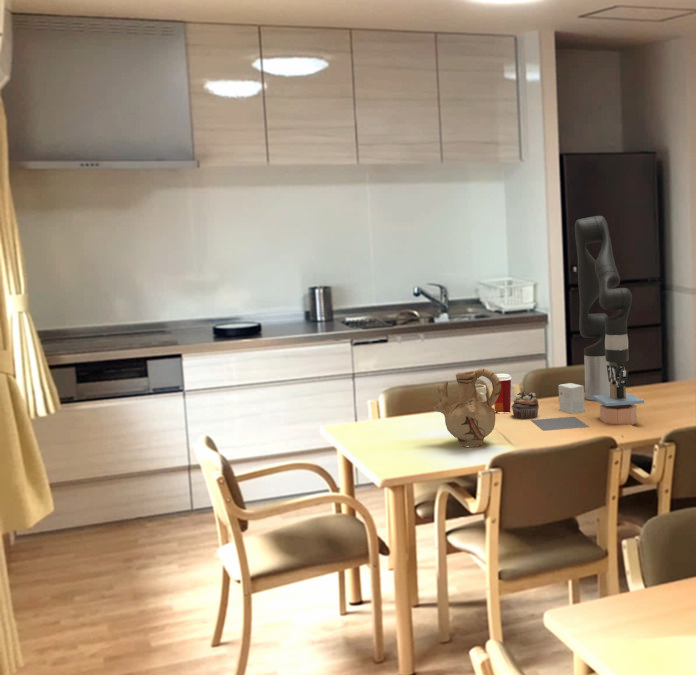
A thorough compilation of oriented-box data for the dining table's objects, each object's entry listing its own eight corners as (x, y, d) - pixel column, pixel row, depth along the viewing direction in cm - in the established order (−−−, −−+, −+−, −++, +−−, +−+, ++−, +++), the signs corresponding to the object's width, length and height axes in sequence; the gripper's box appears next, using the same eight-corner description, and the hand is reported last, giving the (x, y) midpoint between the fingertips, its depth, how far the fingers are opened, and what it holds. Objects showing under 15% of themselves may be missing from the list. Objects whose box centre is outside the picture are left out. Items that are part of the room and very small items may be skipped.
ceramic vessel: (479, 434, 290) (475, 361, 287) (513, 445, 273) (510, 368, 270) (433, 443, 283) (429, 369, 279) (466, 455, 265) (461, 376, 262)
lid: (592, 398, 298) (592, 383, 297) (629, 395, 299) (628, 380, 298) (606, 406, 285) (605, 390, 285) (644, 403, 286) (643, 387, 285)
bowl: (597, 420, 298) (596, 403, 297) (628, 418, 299) (627, 401, 298) (608, 427, 287) (608, 410, 286) (640, 425, 288) (640, 407, 287)
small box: (585, 414, 309) (584, 385, 307) (572, 416, 307) (571, 387, 305) (571, 410, 316) (570, 382, 315) (559, 412, 314) (558, 384, 313)
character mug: (493, 423, 304) (492, 387, 303) (475, 425, 302) (474, 389, 301) (479, 417, 315) (478, 382, 313) (462, 419, 313) (460, 385, 311)
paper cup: (512, 409, 324) (510, 372, 323) (514, 413, 317) (512, 376, 315) (491, 410, 325) (489, 373, 323) (492, 414, 318) (491, 377, 316)
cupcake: (541, 416, 310) (540, 389, 308) (536, 422, 301) (534, 395, 300) (515, 415, 314) (514, 388, 312) (509, 421, 305) (508, 394, 304)
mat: (530, 422, 301) (530, 420, 301) (574, 419, 302) (574, 416, 302) (543, 433, 286) (543, 430, 285) (590, 429, 286) (590, 426, 286)
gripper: (598, 345, 296) (599, 393, 299) (613, 351, 282) (614, 401, 285) (619, 343, 297) (620, 392, 299) (635, 349, 283) (636, 400, 285)
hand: (617, 396), depth 292 cm, fingers closed on lid, 4 cm apart
